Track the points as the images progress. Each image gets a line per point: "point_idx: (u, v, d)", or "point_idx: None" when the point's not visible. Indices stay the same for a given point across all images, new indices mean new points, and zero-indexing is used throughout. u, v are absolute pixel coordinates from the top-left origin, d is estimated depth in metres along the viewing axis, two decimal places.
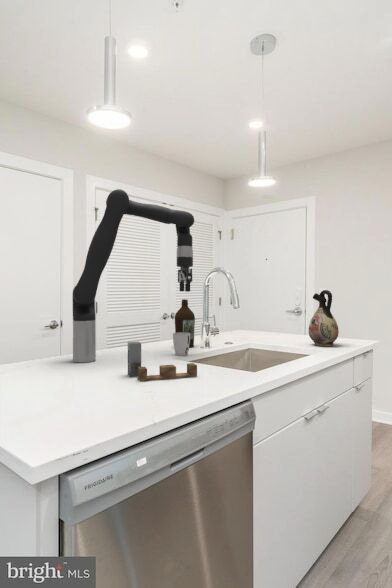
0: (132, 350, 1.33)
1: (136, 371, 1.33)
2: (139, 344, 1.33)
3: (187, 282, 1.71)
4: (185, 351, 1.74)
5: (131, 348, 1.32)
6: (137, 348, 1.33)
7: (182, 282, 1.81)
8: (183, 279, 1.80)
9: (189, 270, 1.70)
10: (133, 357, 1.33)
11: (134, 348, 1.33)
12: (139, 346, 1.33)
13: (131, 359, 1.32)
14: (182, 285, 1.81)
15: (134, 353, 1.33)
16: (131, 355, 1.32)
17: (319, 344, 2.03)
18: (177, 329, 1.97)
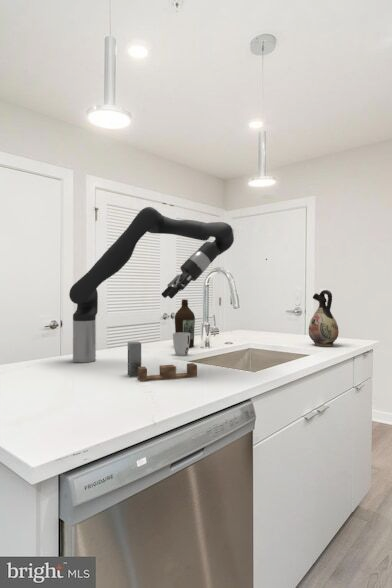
0: (132, 350, 1.33)
1: (136, 371, 1.33)
2: (139, 344, 1.33)
3: (177, 287, 1.34)
4: (185, 351, 1.74)
5: (131, 348, 1.32)
6: (137, 348, 1.33)
7: (171, 288, 1.44)
8: (174, 286, 1.43)
9: (189, 277, 1.34)
10: (133, 357, 1.33)
11: (134, 348, 1.33)
12: (139, 346, 1.33)
13: (131, 359, 1.32)
14: (168, 291, 1.43)
15: (134, 353, 1.33)
16: (131, 355, 1.32)
17: (319, 344, 2.03)
18: (177, 329, 1.97)
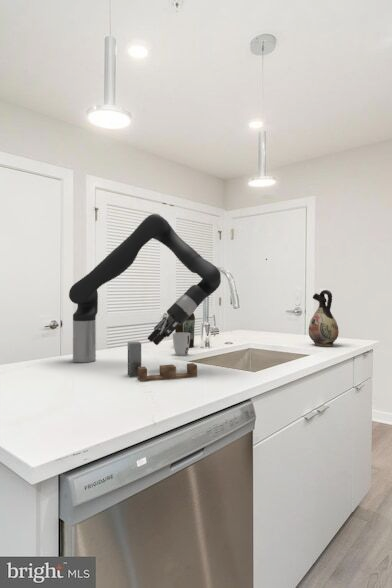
0: (132, 350, 1.33)
1: (136, 371, 1.33)
2: (139, 344, 1.33)
3: (162, 334, 1.33)
4: (185, 351, 1.74)
5: (131, 348, 1.32)
6: (137, 348, 1.33)
7: (157, 332, 1.42)
8: (161, 330, 1.41)
9: (174, 324, 1.33)
10: (133, 357, 1.33)
11: (134, 348, 1.33)
12: (139, 346, 1.33)
13: (131, 359, 1.32)
14: (154, 335, 1.42)
15: (134, 353, 1.33)
16: (131, 355, 1.32)
17: (319, 344, 2.03)
18: (177, 329, 1.97)
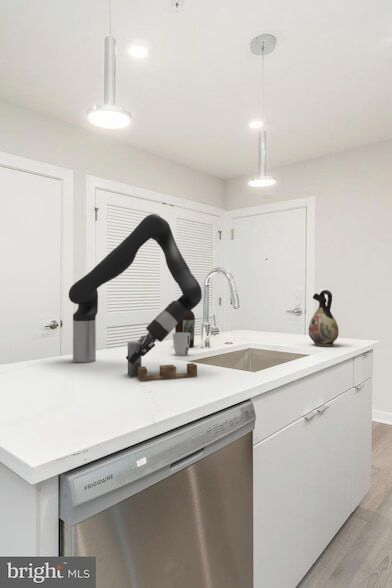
0: (132, 350, 1.33)
1: (136, 371, 1.33)
2: (139, 344, 1.33)
3: (138, 353, 1.31)
4: (185, 351, 1.74)
5: (131, 348, 1.32)
6: (137, 347, 1.33)
7: None
8: None
9: (150, 344, 1.30)
10: None
11: (134, 348, 1.33)
12: None
13: None
14: None
15: None
16: (131, 355, 1.32)
17: (319, 344, 2.03)
18: (177, 329, 1.97)
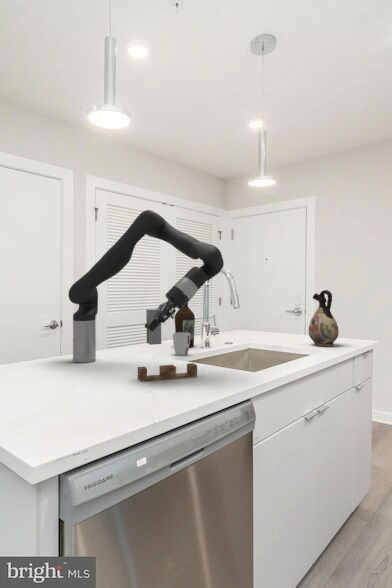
0: (152, 317, 1.27)
1: (156, 339, 1.27)
2: (159, 311, 1.27)
3: (158, 319, 1.26)
4: (185, 351, 1.74)
5: (151, 315, 1.26)
6: (157, 314, 1.27)
7: None
8: None
9: (171, 310, 1.24)
10: None
11: (154, 314, 1.27)
12: None
13: None
14: None
15: None
16: (151, 322, 1.26)
17: (319, 344, 2.03)
18: (177, 329, 1.97)
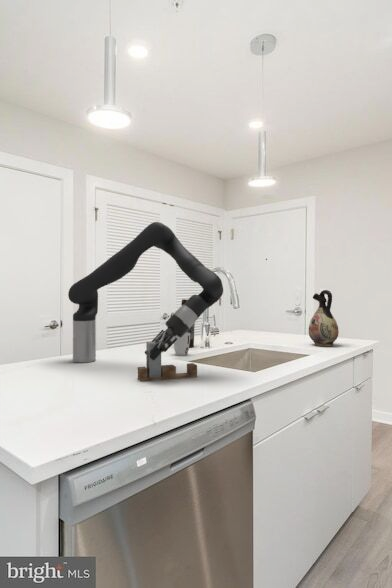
0: (152, 351, 1.27)
1: (156, 372, 1.27)
2: None
3: (159, 348, 1.25)
4: (185, 351, 1.74)
5: (151, 348, 1.27)
6: None
7: None
8: None
9: (173, 338, 1.24)
10: None
11: (154, 348, 1.27)
12: None
13: (151, 360, 1.27)
14: None
15: None
16: None
17: (319, 344, 2.03)
18: None
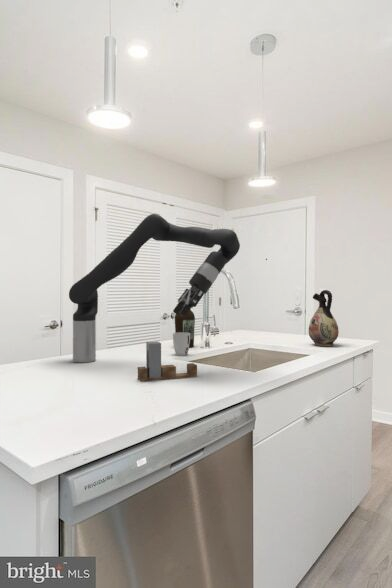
0: (152, 351, 1.27)
1: (156, 372, 1.27)
2: (159, 344, 1.28)
3: (189, 304, 1.31)
4: (185, 351, 1.74)
5: (151, 348, 1.27)
6: (157, 348, 1.27)
7: (182, 304, 1.40)
8: (185, 301, 1.39)
9: (200, 293, 1.31)
10: (153, 358, 1.27)
11: (154, 348, 1.27)
12: (159, 346, 1.28)
13: (151, 360, 1.27)
14: (180, 307, 1.40)
15: (154, 353, 1.27)
16: (151, 356, 1.27)
17: (319, 344, 2.03)
18: (177, 329, 1.97)
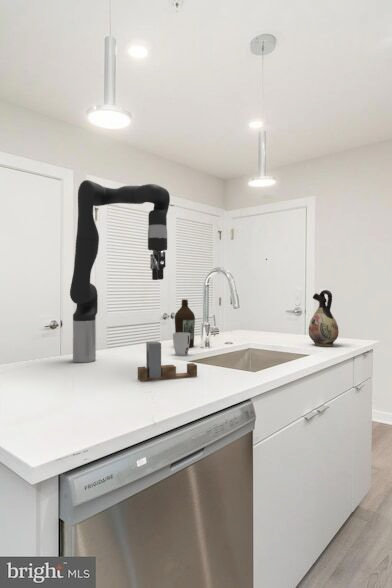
0: (152, 351, 1.27)
1: (156, 372, 1.27)
2: (159, 344, 1.28)
3: (159, 268, 1.42)
4: (185, 351, 1.74)
5: (151, 348, 1.27)
6: (157, 348, 1.27)
7: (155, 269, 1.52)
8: (156, 265, 1.51)
9: (161, 253, 1.41)
10: (153, 358, 1.27)
11: (154, 348, 1.27)
12: (159, 346, 1.28)
13: (151, 360, 1.27)
14: (155, 272, 1.52)
15: (154, 353, 1.27)
16: (151, 356, 1.27)
17: (319, 344, 2.03)
18: (177, 329, 1.97)
